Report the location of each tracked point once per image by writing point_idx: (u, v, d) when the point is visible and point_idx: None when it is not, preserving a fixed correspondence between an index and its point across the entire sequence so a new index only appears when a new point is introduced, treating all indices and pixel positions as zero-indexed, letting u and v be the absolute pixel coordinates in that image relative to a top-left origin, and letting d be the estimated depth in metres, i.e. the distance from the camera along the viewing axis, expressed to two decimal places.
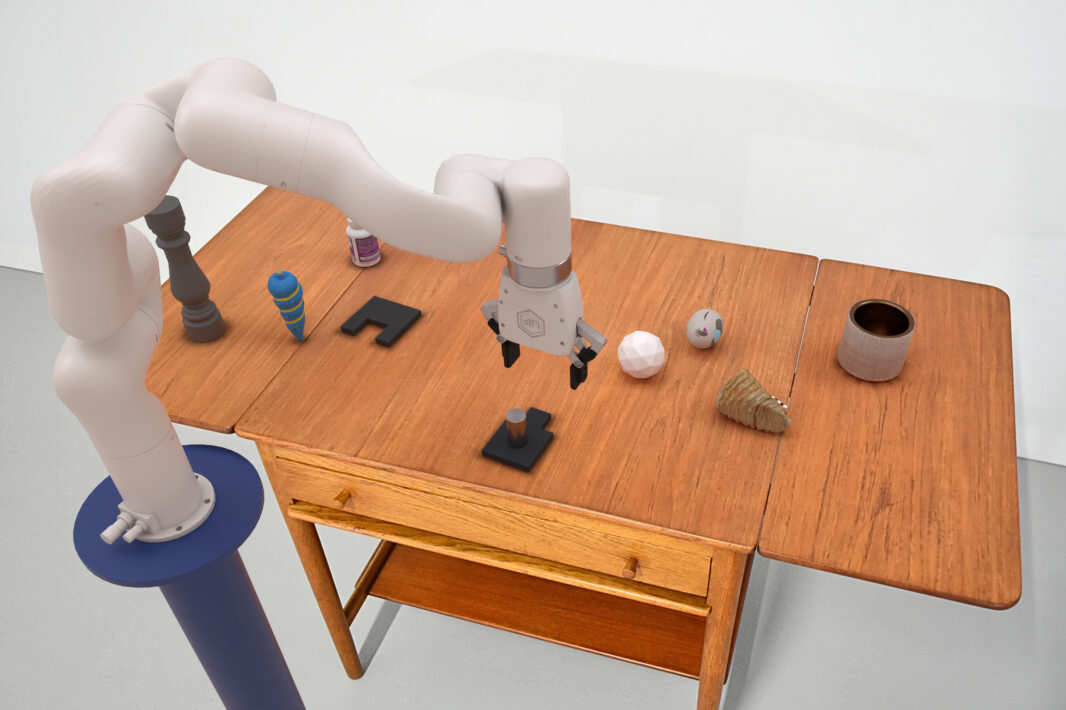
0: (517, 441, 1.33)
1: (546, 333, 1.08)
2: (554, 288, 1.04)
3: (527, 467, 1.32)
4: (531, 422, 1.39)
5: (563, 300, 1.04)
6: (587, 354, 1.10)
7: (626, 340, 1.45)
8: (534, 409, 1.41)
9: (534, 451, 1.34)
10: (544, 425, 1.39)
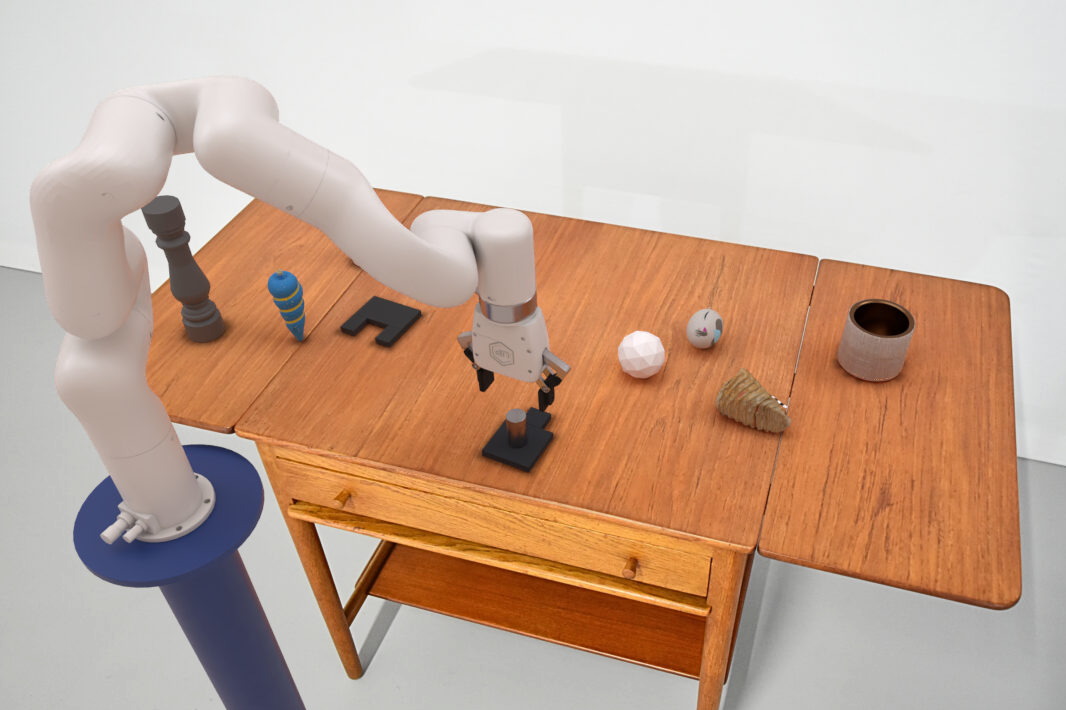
0: (517, 441, 1.33)
1: (515, 362, 1.20)
2: (521, 323, 1.16)
3: (527, 467, 1.32)
4: (531, 422, 1.39)
5: (529, 333, 1.16)
6: (553, 380, 1.22)
7: (626, 340, 1.45)
8: (534, 409, 1.41)
9: (534, 451, 1.34)
10: (544, 425, 1.39)
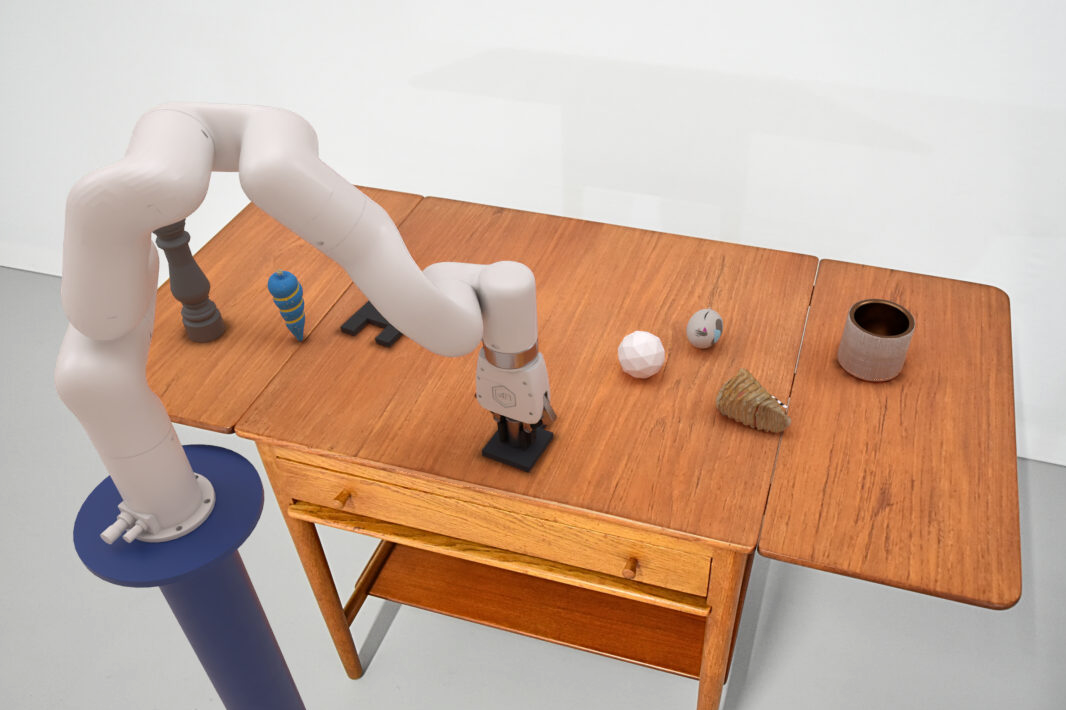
0: (517, 441, 1.33)
1: (517, 405, 1.26)
2: (523, 368, 1.21)
3: (527, 467, 1.32)
4: None
5: (531, 379, 1.22)
6: None
7: (626, 340, 1.45)
8: None
9: (534, 451, 1.34)
10: (544, 425, 1.39)
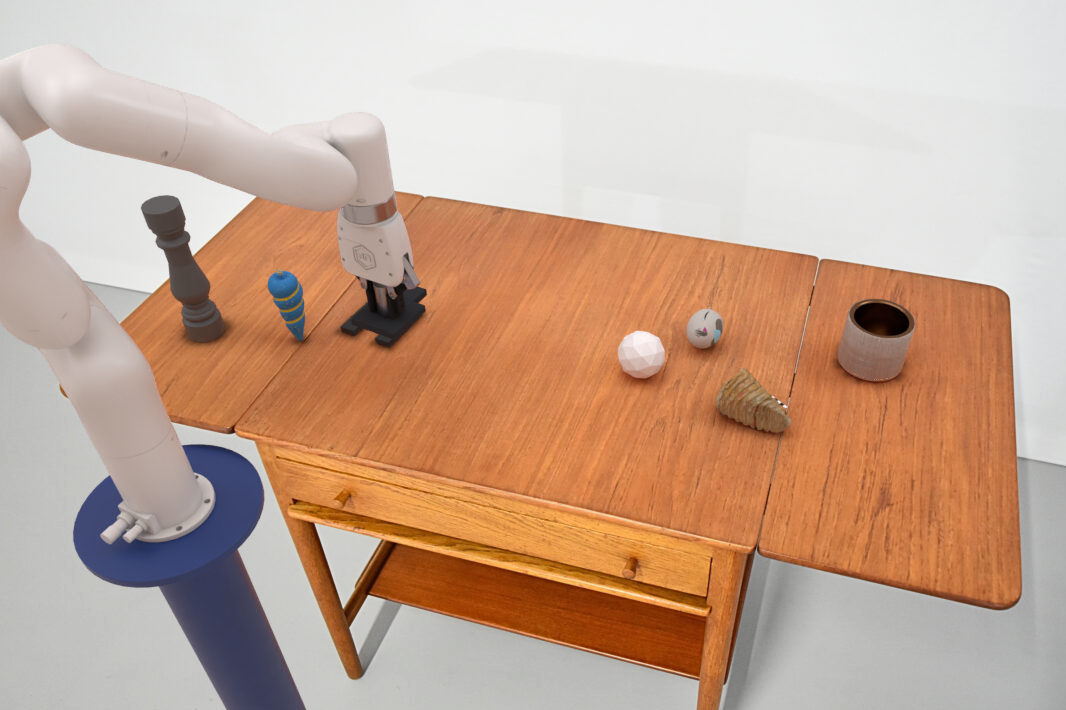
0: (385, 309, 1.34)
1: (377, 265, 1.27)
2: (378, 224, 1.22)
3: (393, 334, 1.33)
4: (405, 296, 1.40)
5: (386, 235, 1.23)
6: (398, 287, 1.30)
7: (626, 340, 1.45)
8: None
9: (402, 320, 1.35)
10: (418, 299, 1.40)
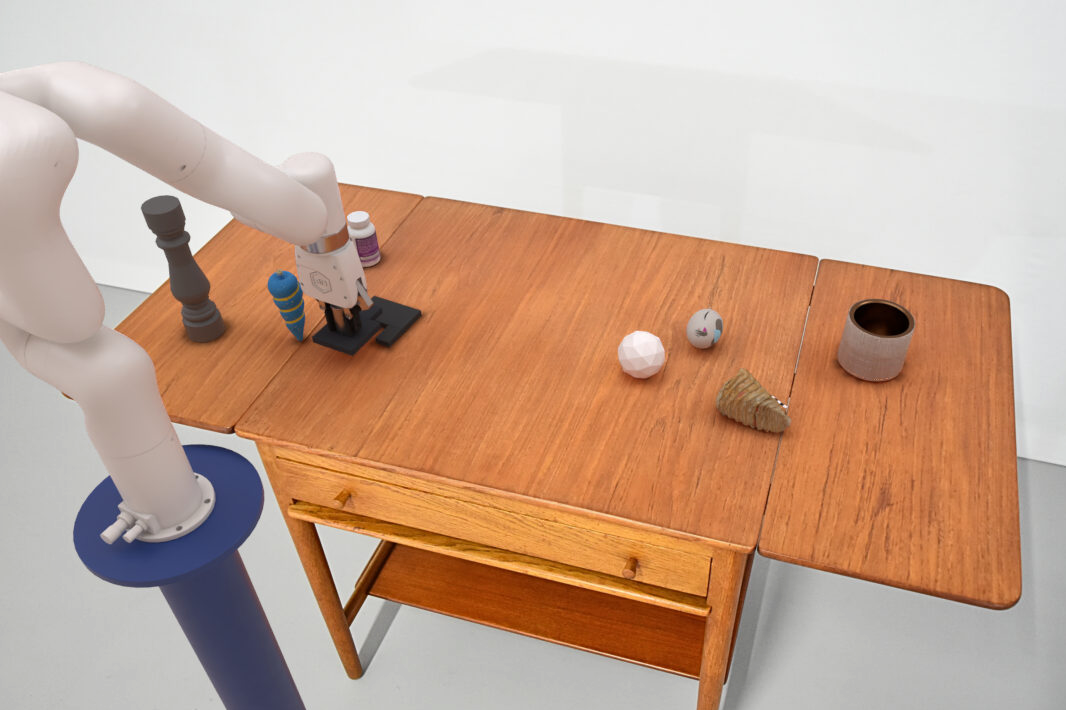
0: (343, 328, 1.46)
1: (332, 289, 1.38)
2: (331, 253, 1.34)
3: (350, 351, 1.45)
4: (362, 314, 1.51)
5: (340, 263, 1.35)
6: (354, 308, 1.42)
7: (626, 340, 1.45)
8: None
9: (359, 338, 1.47)
10: (374, 317, 1.52)
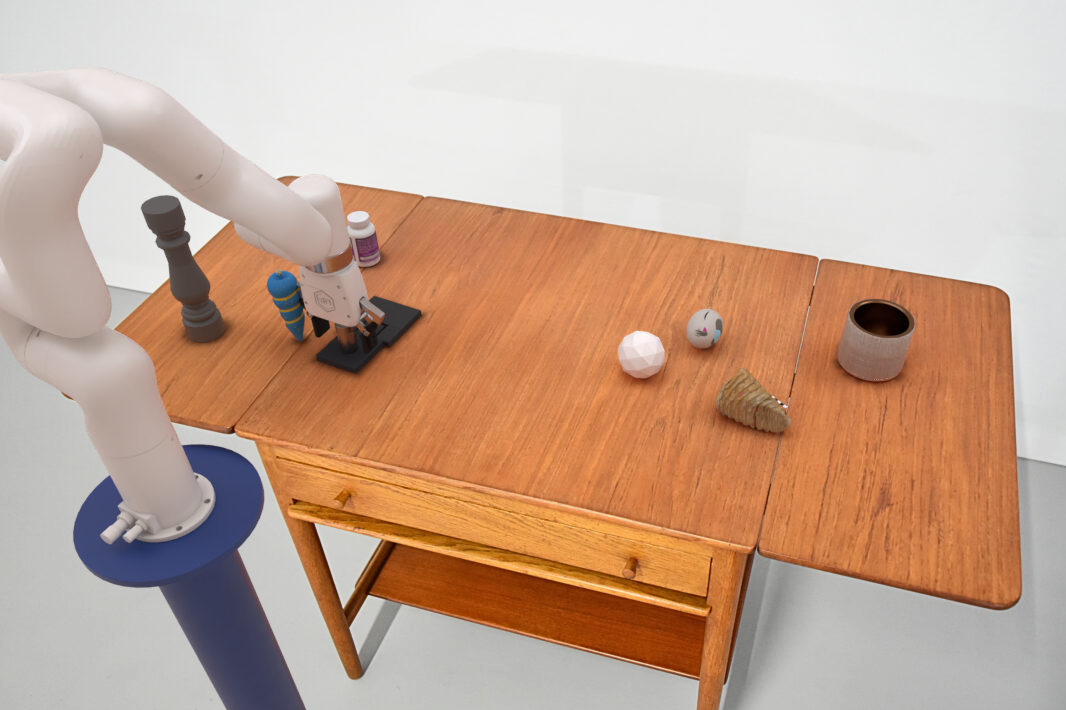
0: (347, 346, 1.49)
1: (336, 308, 1.41)
2: (335, 273, 1.36)
3: (354, 369, 1.47)
4: None
5: (343, 282, 1.37)
6: (371, 325, 1.43)
7: (626, 340, 1.45)
8: None
9: (363, 356, 1.49)
10: (377, 335, 1.54)
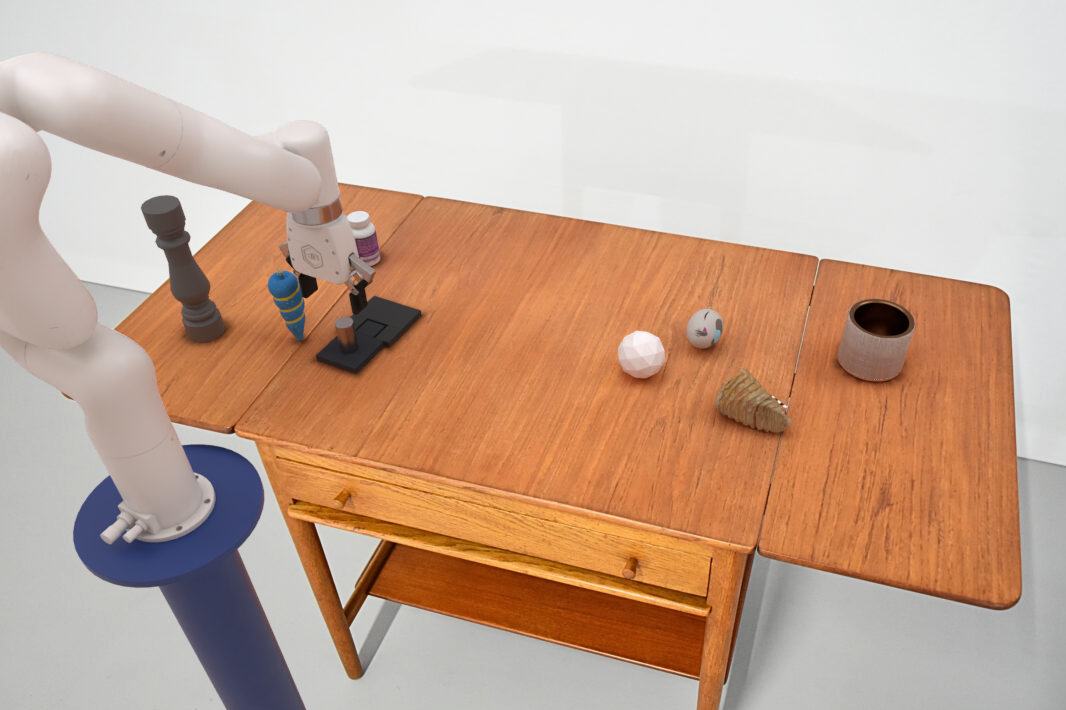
0: (347, 346, 1.49)
1: (324, 264, 1.35)
2: (324, 225, 1.30)
3: (354, 369, 1.47)
4: (365, 332, 1.54)
5: (332, 236, 1.31)
6: (360, 283, 1.37)
7: (626, 340, 1.45)
8: (370, 322, 1.56)
9: (363, 356, 1.49)
10: (377, 335, 1.54)
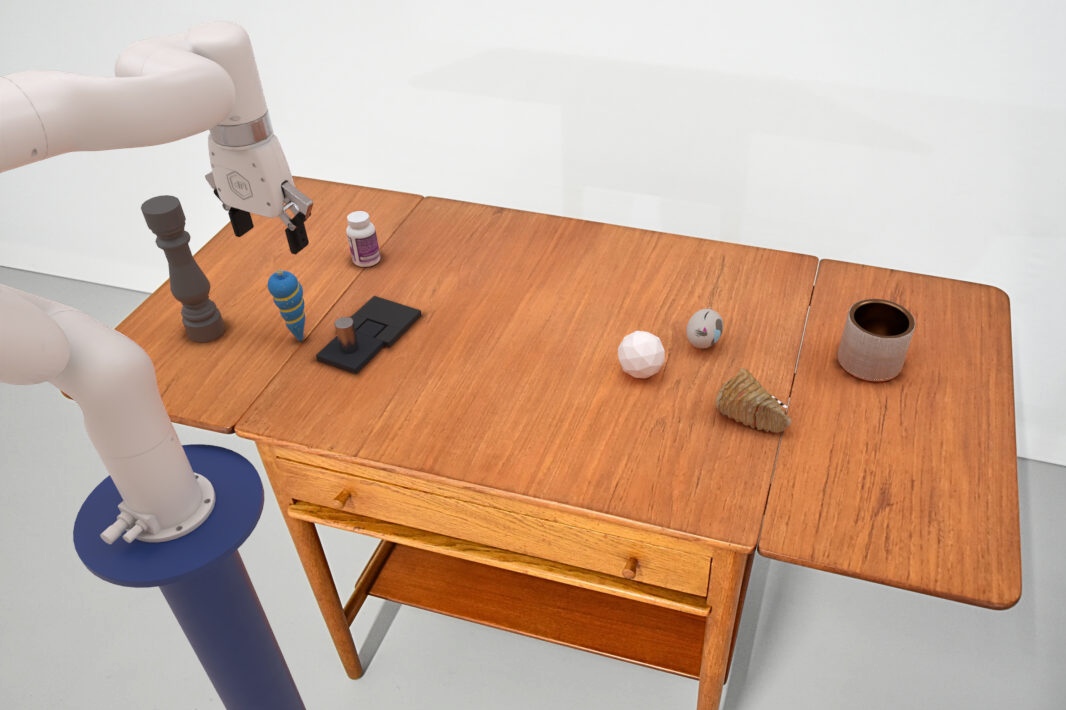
0: (347, 346, 1.49)
1: (253, 194, 1.17)
2: (249, 147, 1.12)
3: (354, 369, 1.47)
4: (365, 332, 1.54)
5: (260, 159, 1.13)
6: (296, 216, 1.19)
7: (626, 340, 1.45)
8: (370, 322, 1.56)
9: (363, 356, 1.49)
10: (377, 335, 1.54)
